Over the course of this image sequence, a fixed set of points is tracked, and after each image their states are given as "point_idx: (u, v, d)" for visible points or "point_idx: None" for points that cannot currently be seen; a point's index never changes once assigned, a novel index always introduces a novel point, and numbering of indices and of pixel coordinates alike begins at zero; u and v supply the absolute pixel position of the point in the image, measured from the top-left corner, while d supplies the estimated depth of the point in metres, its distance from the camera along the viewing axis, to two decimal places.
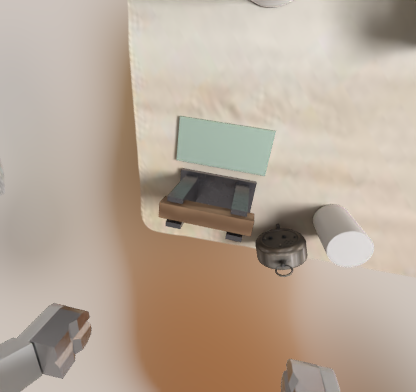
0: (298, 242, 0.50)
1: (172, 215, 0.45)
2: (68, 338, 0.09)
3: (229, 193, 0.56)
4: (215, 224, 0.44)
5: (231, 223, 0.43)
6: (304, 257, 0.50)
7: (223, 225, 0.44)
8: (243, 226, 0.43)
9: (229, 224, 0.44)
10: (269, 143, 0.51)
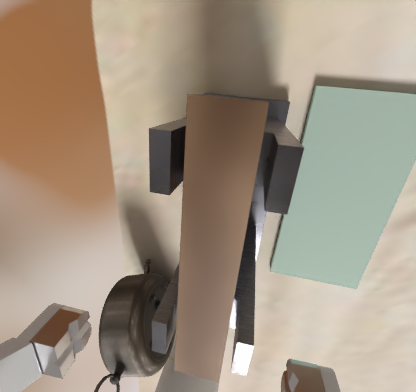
0: (164, 361, 0.27)
1: (205, 164, 0.10)
2: (68, 338, 0.09)
3: None
4: (192, 302, 0.14)
5: (203, 339, 0.15)
6: None
7: (195, 321, 0.14)
8: (199, 362, 0.16)
9: (201, 335, 0.15)
10: (334, 279, 0.28)
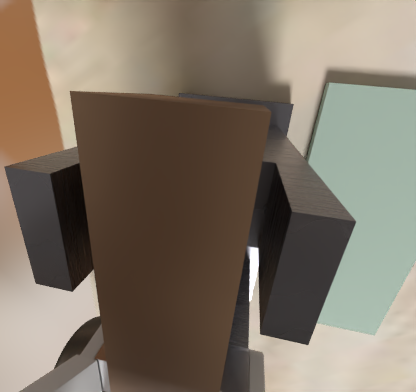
0: None
1: (133, 242, 0.05)
2: None
3: None
4: None
5: None
6: None
7: None
8: None
9: None
10: (347, 323, 0.22)
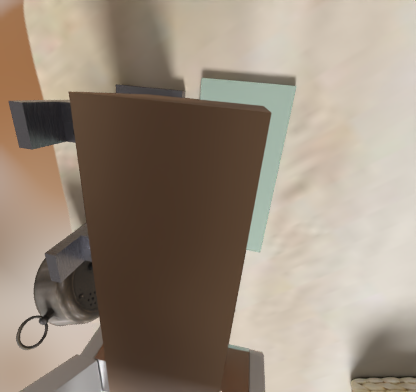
0: (96, 313, 0.32)
1: (133, 244, 0.05)
2: None
3: None
4: None
5: None
6: None
7: None
8: None
9: None
10: None
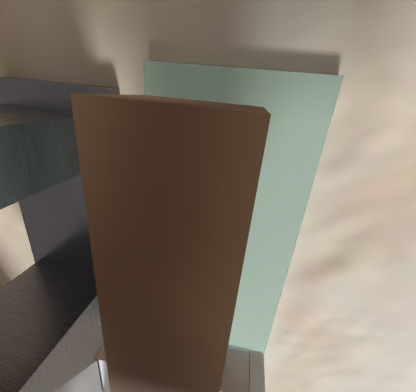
0: None
1: (133, 244, 0.05)
2: None
3: (77, 254, 0.18)
4: None
5: None
6: None
7: None
8: None
9: None
10: (232, 343, 0.20)
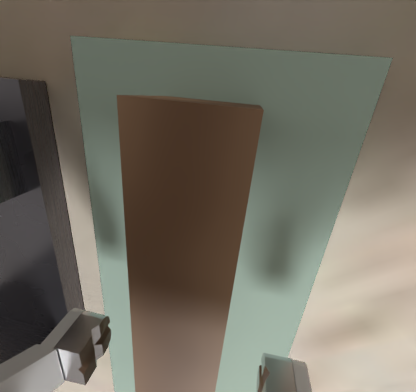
0: None
1: (158, 211, 0.06)
2: (91, 344, 0.08)
3: (11, 306, 0.14)
4: None
5: None
6: None
7: None
8: None
9: None
10: None
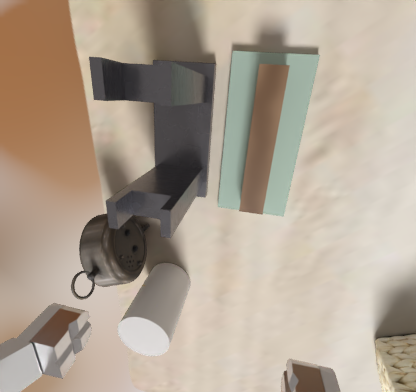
0: (133, 275, 0.35)
1: (264, 91, 0.26)
2: (68, 338, 0.09)
3: (182, 158, 0.34)
4: (253, 163, 0.30)
5: (256, 186, 0.31)
6: None
7: (253, 175, 0.30)
8: (253, 201, 0.32)
9: (255, 183, 0.31)
10: (266, 209, 0.35)
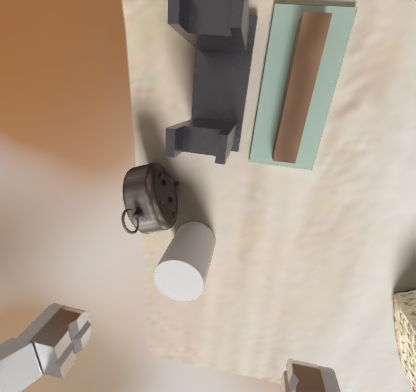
0: (169, 222, 0.36)
1: (306, 39, 0.28)
2: (68, 338, 0.09)
3: (219, 112, 0.36)
4: (290, 112, 0.32)
5: (291, 135, 0.33)
6: (150, 232, 0.37)
7: (289, 123, 0.32)
8: (287, 151, 0.34)
9: (291, 132, 0.33)
10: (296, 163, 0.37)
